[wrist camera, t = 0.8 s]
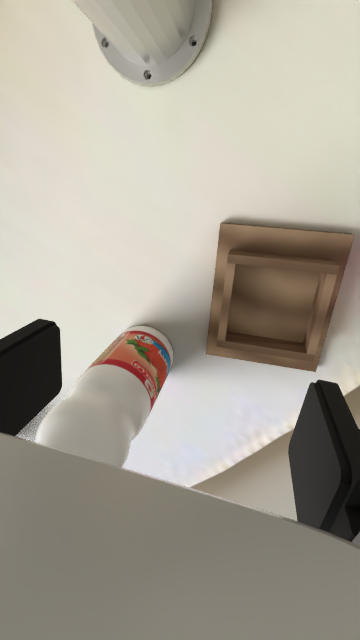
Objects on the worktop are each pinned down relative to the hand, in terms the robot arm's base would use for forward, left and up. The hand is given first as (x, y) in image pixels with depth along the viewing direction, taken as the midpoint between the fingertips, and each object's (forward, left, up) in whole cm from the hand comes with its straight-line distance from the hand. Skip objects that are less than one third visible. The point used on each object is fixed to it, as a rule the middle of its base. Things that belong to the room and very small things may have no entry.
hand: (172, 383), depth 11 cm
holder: (+6, +6, -30) cm, 31 cm away
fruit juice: (+17, -11, -31) cm, 36 cm away
